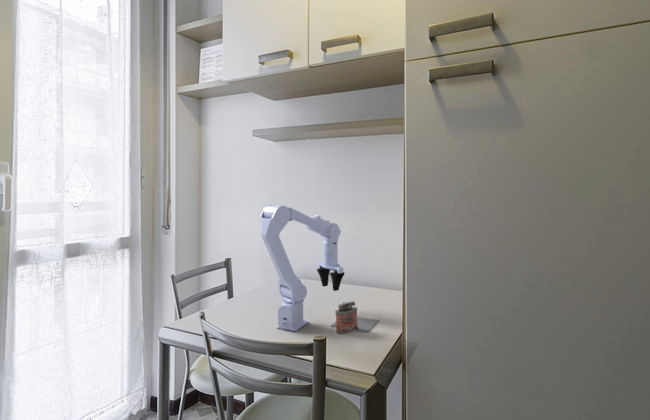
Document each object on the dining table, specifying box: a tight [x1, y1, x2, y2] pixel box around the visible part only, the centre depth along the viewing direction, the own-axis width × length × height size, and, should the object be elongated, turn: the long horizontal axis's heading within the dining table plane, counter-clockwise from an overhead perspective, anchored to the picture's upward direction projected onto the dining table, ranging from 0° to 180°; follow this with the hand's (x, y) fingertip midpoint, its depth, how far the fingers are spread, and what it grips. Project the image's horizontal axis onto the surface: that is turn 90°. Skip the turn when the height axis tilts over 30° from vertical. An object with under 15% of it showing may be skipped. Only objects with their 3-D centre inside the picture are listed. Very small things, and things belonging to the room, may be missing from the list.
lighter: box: [334, 300, 358, 335], centre depth 126 cm, size 8×3×10 cm, turn 113°
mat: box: [330, 316, 380, 333], centre depth 134 cm, size 12×14×1 cm
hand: (330, 288), depth 144 cm, fingers open, 7 cm apart
